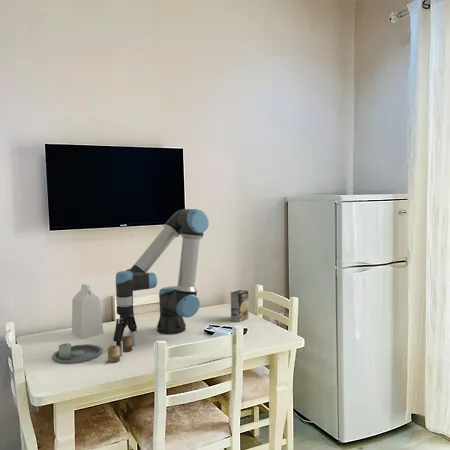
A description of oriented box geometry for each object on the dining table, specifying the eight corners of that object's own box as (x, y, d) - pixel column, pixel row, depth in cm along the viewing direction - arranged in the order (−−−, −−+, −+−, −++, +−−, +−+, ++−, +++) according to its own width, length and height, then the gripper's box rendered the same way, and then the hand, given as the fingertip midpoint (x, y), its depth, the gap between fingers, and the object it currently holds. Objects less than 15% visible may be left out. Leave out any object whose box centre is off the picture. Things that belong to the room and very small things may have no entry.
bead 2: (121, 359, 187) (121, 345, 187) (116, 363, 183) (116, 349, 182) (111, 358, 188) (110, 345, 188) (106, 362, 184) (105, 349, 183)
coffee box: (240, 322, 239) (239, 293, 238) (230, 320, 242) (230, 292, 241) (249, 318, 246) (248, 290, 245) (239, 316, 250) (239, 289, 249)
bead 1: (73, 356, 190) (73, 343, 189) (67, 361, 185) (66, 347, 184) (63, 356, 191) (62, 342, 190) (56, 360, 186) (56, 346, 185)
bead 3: (134, 348, 200) (133, 336, 200) (129, 352, 195) (129, 339, 195) (124, 348, 201) (123, 335, 201) (119, 351, 196) (118, 339, 196)
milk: (103, 333, 224) (101, 284, 222) (82, 339, 216) (80, 288, 214) (92, 328, 232) (90, 281, 231) (72, 334, 224) (69, 285, 223)
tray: (110, 348, 200) (110, 345, 200) (87, 366, 180) (87, 362, 180) (69, 346, 205) (69, 343, 204) (42, 363, 184) (42, 360, 184)
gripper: (128, 298, 210) (129, 340, 211) (104, 311, 185) (105, 359, 187) (143, 298, 208) (144, 341, 209) (120, 312, 184) (122, 360, 185)
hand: (126, 350), depth 198 cm, fingers open, 13 cm apart
